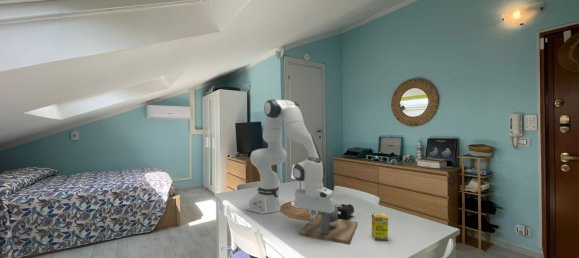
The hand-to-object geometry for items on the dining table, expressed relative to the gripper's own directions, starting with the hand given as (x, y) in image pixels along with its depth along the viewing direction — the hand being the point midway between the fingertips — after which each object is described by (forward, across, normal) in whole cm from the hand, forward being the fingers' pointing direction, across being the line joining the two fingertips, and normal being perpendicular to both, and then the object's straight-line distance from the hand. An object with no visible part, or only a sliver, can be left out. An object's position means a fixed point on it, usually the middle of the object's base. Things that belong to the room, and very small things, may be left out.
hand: (313, 218), depth 122 cm
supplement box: (+7, +30, +9) cm, 32 cm away
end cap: (+8, +8, +28) cm, 30 cm away
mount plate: (+7, +6, +8) cm, 12 cm away
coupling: (+5, +6, +4) cm, 9 cm away
